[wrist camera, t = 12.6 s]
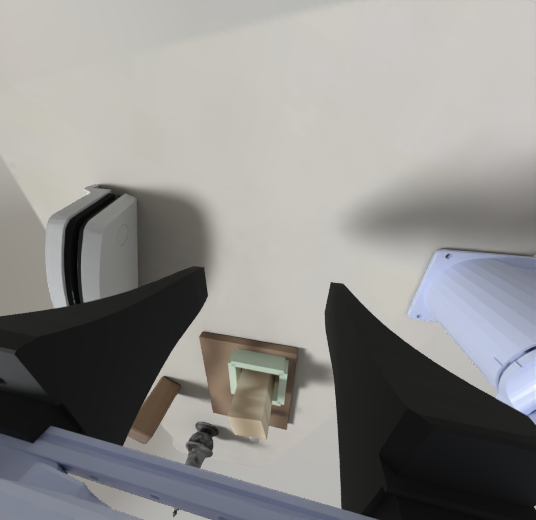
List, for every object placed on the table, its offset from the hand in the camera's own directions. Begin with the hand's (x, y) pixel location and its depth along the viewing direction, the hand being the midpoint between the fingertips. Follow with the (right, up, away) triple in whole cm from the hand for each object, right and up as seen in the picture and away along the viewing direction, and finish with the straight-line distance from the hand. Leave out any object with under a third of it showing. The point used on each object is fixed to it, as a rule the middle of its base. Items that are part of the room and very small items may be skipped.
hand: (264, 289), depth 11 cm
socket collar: (-1, -15, +17) cm, 23 cm away
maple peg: (-1, -15, +17) cm, 23 cm away
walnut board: (-3, -19, +21) cm, 28 cm away
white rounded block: (-18, +2, +14) cm, 23 cm away
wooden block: (-19, -22, +26) cm, 39 cm away
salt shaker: (-13, -35, +31) cm, 49 cm away
